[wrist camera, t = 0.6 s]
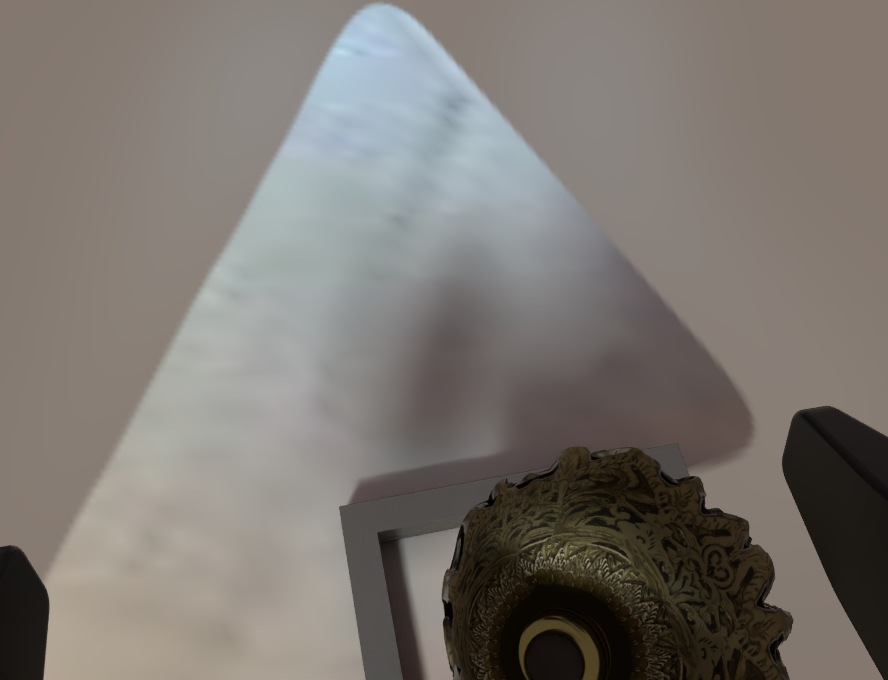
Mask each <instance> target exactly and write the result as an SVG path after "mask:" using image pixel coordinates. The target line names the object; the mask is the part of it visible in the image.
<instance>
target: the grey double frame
mask: <svg viewBox="0 0 888 680" xmlns="http://www.w3.org/2000/svg"><path fill="white" fill-rule="evenodd" d="M641 451H643V452H644V453H646V454H647V455H649V456H650V457H652V458H653V459H655V460H656V461H658V462H659V463H660V464H661V467H662V470H663V471H664V472H665V473H666V474H667V475H669V476H670V477H672V478H673V479H681V478H684V477H690V476H689V473H688V470H687V468H686V465H685V462H684V460H683V457H682V454H681V452H680V449H679V446H678V444H671V445H666V446H661V447H655V448H650V449H645V450H641ZM549 468H551V467H548V468H543V469H538V470H532V471H527V472H522V473H516V474H511V475H506V476H500V477H495V478H490V479H484V480H479V481H474V482H468V483H463V484H458V485H452V486H447V487H442V488H436V489H431V490H425V491H420V492H415V493H409V494H404V495H399V496H393V497H388V498H383V499H377V500H372V501H367V502H361V503H356V504H351V505H345V506H340V507H339V509H340V516H341V522H342V529H343V535H344V542H345V548H346V555H347V561H348V567H349V574H350V580H351V587H352V593H353V600H354V606H355V613H356V619H357V626H358V632H359V639H360V645H361V652H362V658H363V665H364V671H365V677H366V680H403V677H402V671H401V665H400V660H399V654H398V648H397V643H396V637H395V631H394V625H393V620H392V614H391V608H390V603H389V597H388V591H387V585H386V580H385V574H384V568H383V563H382V557H381V551H380V545H379V543H381V542H386V541H391V540H396V539H401V538H407V537H412V536H417V535H422V534H427V533H432V532H437V531H442V530H448V529H453V528H458V527H461V525H462V522H463V520H464V518H465V517H466V515H467V513H468V512H469V511H470V509H471V508H472V507H473V506H474V505H477V504H479V503H481V502H484V501H486V500H488V498H489V495H490V493H491V491H492V489H493V488H494V487H495V485H496V484H497V483H498V482H500V481H501V480H502V479H504V478H507V479H508V483H509V482H512V483H513V484H514V483H517V482H518V481H520V480H521V479H522V478H523V477H524V476H526V475H527V474H529V473H531V472H533V473H539V472H541V471H544V470H547V469H549Z"/></svg>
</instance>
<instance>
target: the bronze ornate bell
mask: <svg viewBox="0 0 888 680" xmlns="http://www.w3.org/2000/svg"><path fill="white" fill-rule="evenodd" d="M705 496H706V493H705V491H704V488H703V483H702V481H701V479H700V478H699V477H696V476H691V477H684V478H681V479H673V478H672V477H670V476H669V475H667V474H666V473H665V472H664V471H663V470H662V467H661V464H660V463H659V462H658V461H656V460H655V459H653V458H652V457H650V456H649V455H647V454H646V453H644V452H643V451H641V450H640V449H638V448H632V447H625V448H618V449H613V450H608V451H606V450H602V451H599V452H594V453H589V450H588V449H587V448H586V447H571V448H568V449H566V450H564V451H563V452H561V453H560V454H559V455H558V456H557V460H556V462H555V463H554V464H553V465H552V466H551V468H549V469H547V470H544V471H541V472H539V473H533V472H531V473H529V474H527V475H526V476H524V477H523V478H522V479H521V480H520V481H518V482H517V483H514V484H513V483H512V482H509V483H508V479H507V478H504V479H502V480H501V481H500V482H498V483H497V484H496V485H495V487H494V488H493V489H492V491H491V493H490V495H489V498H488V500H486V501H484V502H481V503H479V504H477V505H474V506H473V507H472V508H471V509H470V511H469V512H468V513H467V515H466V517H465V518H464V520H463V522H462V525H461V527H460V529H459V533H458V537H457V542H456V547H455V552H454V556H453V560H452V563H451V566H450V569H447V571H446V573H445V575H444V581H443V589H442V601H443V604H444V612H445V618H444V620H443V628H444V639H445V645H446V650H447V655H448V660H449V664H450V669H451V671H452V672H453V680H533V678H532V677H531V675H530V673H529V670H528V665H527V656H528V652H529V649H530V647H531V645H532V644H533V642H534V641H535V640H536V639H538V638H539V637H541V636H543V635H545V634H550V633H556V634H560V635H563V636H565V637H567V638H569V639H570V640H571V641H572V642H573V643H574V644H575V645H576V646H577V648H578V650H579V652H580V654H581V658H582V672H581V676H580V678H579V680H790V679H789V676H788V673H787V670H786V667H785V666H784V665H783V663H782V660H781V657H780V653H779V650H778V646H779V645H780V644H781V642H783V641H785V640H787V638H788V635H789V633H791V629H792V624H793V618H792V616H791V614H790V613H789V612H786V611H783V610H782V609H781V608H778V607H776V606H771V605H769V604H767V603H764V600H765V599H766V597H767V596H768V594H769V592H770V590H771V588H772V585H773V582H774V580H775V573H774V566H773V562H772V560H771V558H770V556H769V554H768V553H766V552H765V551H764V550H763V549H762V548H761V547H760V546H759V545H752V544H750V543H751V541H752V538H751V537H749V523H748V521H747V520H745V519H743V518H740V517H737V516H735V515H731V514H727V513H724V512H723V511H722V510H720V509H719V508H713V509H706V508H705ZM765 605H766V606H768V607H766V606H765ZM770 607H771V608H773V609H771V608H770Z"/></svg>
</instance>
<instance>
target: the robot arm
mask: <svg viewBox="0 0 888 680" xmlns="http://www.w3.org/2000/svg"><path fill="white" fill-rule="evenodd" d="M782 467H783V473H784V476H785V479H786V482H787V484H788V486H789V489H790V491H791V493H792V496H793V498H794V500H795V503H796V505H797V507H798V509H799V512H800V514H801V517H802V519H803V521H804V523H805V526H806V528H807V530H808V533H809V535H810V537H811V540H812V542H813V544H814V547H815V549H816V551H817V554H818V556H819V558H820V560H821V563H822V565H823V568H824V570H825V572H826V574H827V576H828V579H829V581H830V583H831V585H832V587H833V589H834V591H835V593H836V595H837V597H838V599H839V601H840V603H841V604H842V606H843V608H844V610H845V612H846V613H847V615H848V617H849V619H850V621H851V622H852V624H853V626H854V628H855V629H856V631H857V633H858V635H859V636H860V638H861V640H862V642H863V643H864V645H865V647H866V649H867V651H868V652H869V654H870V656H871V658H872V660H873V661H874V663H875V665H876V667H877V668H878V670H879V672H880V674H881V675H882V677H883V679H884V680H888V437H887V436H885V435H884V434H882V433H880V432H878V431H876V430H875V429H873V428H871V427H869V426H867V425H866V424H864V423H862V422H860V421H858V420H857V419H855V418H853V417H851V416H849V415H848V414H846V413H844V412H842V411H840V410H839V409H836V408H834V407H831V406H823V407H817V408H810V409H805V410H800V411H798V412H797V413H796V414H795V415H794V416H793V418H792V421H791V426H790V429H789V433H788V437H787V441H786V445H785V449H784V453H783V458H782ZM48 620H49V597H48V593H47V590H46V588H45V586H44V584H43V582H42V581H41V579H40V578H39V576H38V574H37V573H36V571H35V570H34V568H33V567H32V565H31V563H30V562H29V560H28V559H27V557H26V555H25V554H24V552H23V551H22V550H21V549H20V548H18V547H17V546H12V545H9V546H4V547H0V680H43V678H44V666H45V655H46V643H47V631H48Z"/></svg>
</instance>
